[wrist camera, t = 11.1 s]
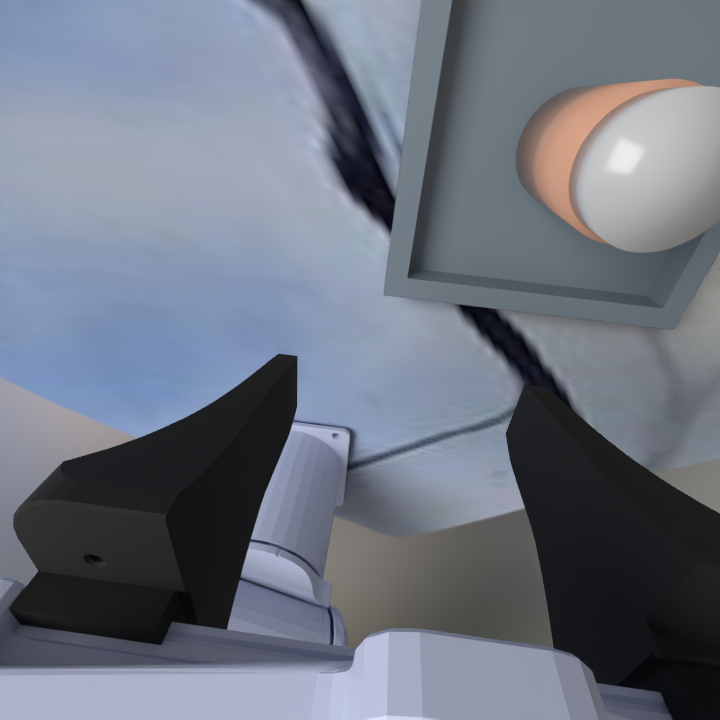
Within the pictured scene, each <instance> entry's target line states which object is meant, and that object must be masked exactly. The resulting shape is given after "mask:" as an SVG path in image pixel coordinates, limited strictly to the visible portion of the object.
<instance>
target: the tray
mask: <svg viewBox="0 0 720 720" xmlns="http://www.w3.org/2000/svg"><path fill="white" fill-rule="evenodd" d="M662 79H683V80H688V81H693V82H695V83H698V84H700V85H703V86H713V87H719V88H720V0H422V1H421V9H420V17H419V24H418V32H417V40H416V47H415V55H414V63H413V70H412V78H411V86H410V93H409V101H408V109H407V116H406V124H405V132H404V139H403V147H402V155H401V162H400V170H399V178H398V185H397V193H396V201H395V208H394V216H393V224H392V231H391V239H390V247H389V254H388V262H387V270H386V277H385V287H384V295H385V296H393V297H402V298H410V299H418V300H427V301H435V302H444V303H452V304H460V305H469V306H477V307H485V308H494V309H502V310H510V311H519V312H527V313H535V314H544V315H552V316H561V317H569V318H577V319H586V320H594V321H602V322H611V323H619V324H627V325H636V326H644V327H653V328H661V329H669V330H674V329H675V327H676V325H677V324H678V322H679V320H680V319H681V317H682V315H683V314H684V312H685V310H686V308H687V307H688V305H689V303H690V302H691V300H692V298H693V296H694V295H695V293H696V291H697V290H698V288H699V286H700V284H701V283H702V281H703V279H704V278H705V276H706V274H707V272H708V271H709V269H710V267H711V266H712V264H713V262H714V260H715V259H716V257H717V255H718V254H719V252H720V220H719V221H717V222H716V223H715V224H714V225H713V226H711V227H710V228H709V229H707V230H706V231H705V232H703V233H702V234H700V235H698V236H697V237H695V238H693V239H691V240H689V241H687V242H685V243H683V244H681V245H678V246H676V247H673V248H670V249H666V250H662V251H657V252H648V253H637V252H629V251H624V250H622V249H619V248H616V247H614V246H612V245H611V244H607V243H602V242H598V241H595V240H593V239H590V238H589V237H587V236H585V235H583V234H582V233H581V232H579V231H578V230H577V229H575V228H574V227H573V226H571V225H570V224H569V223H567V222H566V221H565V220H563V219H562V218H561V217H559V216H558V215H556V214H555V213H554V212H552V211H551V210H550V209H548V208H547V207H546V206H544V205H543V204H542V203H540V202H539V201H538V200H536V199H535V198H534V197H532V196H531V195H530V194H529V193H528V192H527V191H526V190H525V189H524V187H523V186H522V184H521V182H520V180H519V178H518V174H517V170H516V151H517V146H518V142H519V139H520V136H521V134H522V132H523V130H524V128H525V126H526V124H527V123H528V121H529V120H530V118H531V117H532V116H533V114H534V113H535V112H536V111H537V110H538V109H539V108H540V107H541V106H542V105H543V104H544V103H545V102H546V101H548V100H549V99H551V98H552V97H553V96H555V95H557V94H559V93H561V92H563V91H565V90H568V89H571V88H575V87H581V86H592V85H603V84H615V83H627V82H639V81H651V80H662Z"/></svg>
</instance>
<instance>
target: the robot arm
mask: <svg viewBox="0 0 720 720" xmlns="http://www.w3.org/2000/svg"><path fill="white" fill-rule="evenodd" d="M296 408H297V356H292V355H284V354H278V355H276V356H275V357H274V358H272V359H271V360H270V361H269V362H267V363H266V364H265V365H264V366H262V367H261V368H260V369H259V370H257V371H256V372H255V373H254V374H252V375H251V376H250V377H248V378H247V379H246V380H245V381H243V382H242V383H241V384H239V385H238V386H237V387H235V388H234V389H232V390H231V391H229V392H228V393H226V394H225V395H223V396H222V397H220V398H219V399H218V400H216V401H214V402H213V403H211V404H209V405H208V406H206V407H204V408H202V409H201V410H199V411H197V412H195V413H193V414H191V415H190V416H188V417H186V418H184V419H182V420H179V421H177V422H175V423H173V424H171V425H168V426H166V427H164V428H162V429H160V430H157V431H155V432H153V433H150V434H148V435H145V436H143V437H140V438H138V439H135V440H132V441H129V442H126V443H124V444H121V445H118V446H115V447H112V448H109V449H106V450H102V451H99V452H95V453H92V454H88V455H85V456H82V457H78V458H75V459H71V460H67V461H64V462H63V463H62V464H61V465H60V466H58V467H57V469H56V470H55V471H54V472H53V473H52V474H51V475H50V476H49V477H48V478H47V479H46V480H45V481H44V482H43V483H42V484H41V485H40V486H39V487H38V488H37V489H36V490H35V491H34V492H33V493H32V494H31V495H30V496H29V497H28V499H27V500H25V502H24V503H23V504H22V505H21V506H20V507H19V508H18V510H17V511H16V512H15V514H14V519H13V520H14V521H13V526H14V530H15V532H16V534H17V537H18V539H19V540H20V542H21V544H22V545H23V547H24V548H25V550H26V552H27V553H28V555H29V557H30V558H31V560H32V561H33V563H34V565H35V566H36V568H37V569H38V573H37V574H36V575H35V576H34V578H33V579H32V580H31V581H30V583H29V584H28V585H27V586H25V585H24V584H22V583H20V582H18V581H16V580H12V579H8V578H2V577H0V720H720V513H718V512H716V511H714V510H712V509H710V508H709V507H707V506H705V505H703V504H701V503H700V502H698V501H696V500H695V499H693V498H691V497H690V496H688V495H686V494H685V493H683V492H681V491H680V490H678V489H676V488H675V487H673V486H671V485H670V484H668V483H667V482H665V481H664V480H662V479H660V478H659V477H658V476H656V475H655V474H653V473H652V472H650V471H649V470H647V469H646V468H644V467H643V466H641V465H640V464H638V463H637V462H636V461H634V460H633V459H632V458H630V457H629V456H627V455H626V454H625V453H624V452H622V451H621V450H620V449H618V448H617V447H616V446H615V445H613V444H612V443H611V442H609V441H608V440H607V439H606V438H604V437H603V436H602V435H601V434H600V433H598V432H597V431H596V430H595V429H594V428H592V427H591V426H590V425H589V424H588V423H587V422H585V421H584V420H583V419H582V418H581V417H580V416H578V415H577V414H576V413H575V412H574V411H573V410H572V409H570V408H569V407H568V406H567V405H566V404H565V403H564V402H562V401H561V400H560V399H559V398H558V397H557V396H555V395H554V394H553V393H552V392H551V391H549V390H548V389H547V388H545V387H541V386H533V385H524V388H523V390H522V393H521V396H520V398H519V401H518V403H517V406H516V409H515V411H514V414H513V416H512V419H511V421H510V424H509V427H508V429H507V432H506V437H507V444H508V450H509V456H510V461H511V465H512V468H513V471H514V475H515V478H516V481H517V484H518V487H519V490H520V493H521V497H522V500H523V503H524V506H525V509H526V512H527V515H528V518H529V521H530V524H531V527H532V531H533V535H534V539H535V543H536V548H537V552H538V557H539V562H540V567H541V572H542V577H543V583H544V589H545V594H546V599H547V605H548V612H549V619H550V626H551V632H552V639H553V646H554V649H553V648H550V647H545V646H538V645H531V644H524V643H517V642H510V641H503V640H496V639H489V638H482V637H475V636H468V635H461V634H454V633H447V632H440V631H433V630H426V629H419V628H390V629H386V630H383V631H380V632H376V633H373V634H370V635H369V636H368V637H367V638H366V639H365V640H364V641H363V642H362V643H361V644H360V645H359V647H358V648H350V647H348V636H347V630H346V627H345V625H344V620H343V617H342V614H341V612H340V610H339V609H338V608H336V607H334V606H330V605H329V603H330V597H331V589H332V584H331V583H329V582H326V581H324V580H323V575H324V570H325V564H326V558H327V552H328V546H329V540H330V534H331V528H332V522H333V516H334V510H335V507H340V506H342V505H343V501H344V492H345V482H346V473H347V463H348V454H349V444H350V432H349V430H347V429H344V428H337V427H330V426H322V425H314V424H306V423H299V422H293V420H294V416H295V412H296ZM334 433H336V434H338V435H334Z"/></svg>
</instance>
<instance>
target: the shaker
mask: <svg viewBox="0 0 720 720" xmlns="http://www.w3.org/2000/svg"><path fill="white" fill-rule="evenodd" d="M516 170H517V174H518V178H519V180H520V182H521V184H522V186H523V187H524V189H525V190H526V191H527V192H528V193H529V194H530V195H531V196H532V197H534V198H535V199H536V200H538V201H539V202H540V203H542V204H543V205H544V206H546V207H547V208H548V209H550V210H551V211H552V212H554V213H555V214H556V215H558V216H559V217H561V218H562V219H563V220H565V221H566V222H567V223H569V224H570V225H571V226H573V227H574V228H575V229H577V230H578V231H579V232H581V233H582V234H583V235H585V236H587V237H589V238H590V239H593V240H595V241H598V242H602V243H607V244H611V245H612V246H614V247H616V248H619V249H622V250H624V251H629V252H637V253H648V252H657V251H662V250H666V249H670V248H673V247H676V246H678V245H681V244H683V243H685V242H687V241H689V240H691V239H693V238H695V237H697V236H698V235H700V234H702V233H703V232H705V231H706V230H707V229H709V228H710V227H711V226H713V225H714V224H715V223H716V222H717V221H719V220H720V88H719V87H713V86H703V85H700V84H698V83H695V82H693V81H688V80H683V79H662V80H651V81H639V82H627V83H615V84H603V85H592V86H581V87H575V88H571V89H568V90H565V91H563V92H561V93H559V94H557V95H555V96H553V97H552V98H551V99H549V100H548V101H546V102H545V103H544V104H543V105H542V106H541V107H540V108H539V109H538V110H537V111H536V112H535V113H534V114H533V116H532V117H531V118H530V120H529V121H528V123H527V124H526V126H525V128H524V130H523V132H522V134H521V136H520V139H519V142H518V146H517V151H516Z"/></svg>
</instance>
